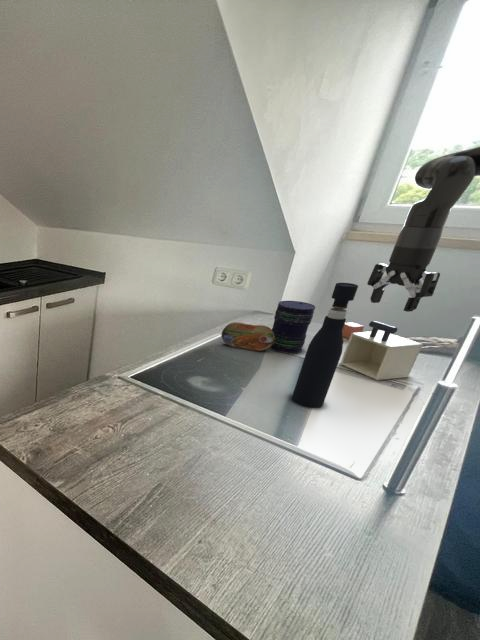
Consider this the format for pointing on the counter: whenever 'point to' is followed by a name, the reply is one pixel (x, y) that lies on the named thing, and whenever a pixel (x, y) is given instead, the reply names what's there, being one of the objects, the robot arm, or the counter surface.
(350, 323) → the block
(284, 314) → the storage jar
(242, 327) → the tin
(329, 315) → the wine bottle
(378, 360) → the bin
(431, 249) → the robot arm
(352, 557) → the counter surface
